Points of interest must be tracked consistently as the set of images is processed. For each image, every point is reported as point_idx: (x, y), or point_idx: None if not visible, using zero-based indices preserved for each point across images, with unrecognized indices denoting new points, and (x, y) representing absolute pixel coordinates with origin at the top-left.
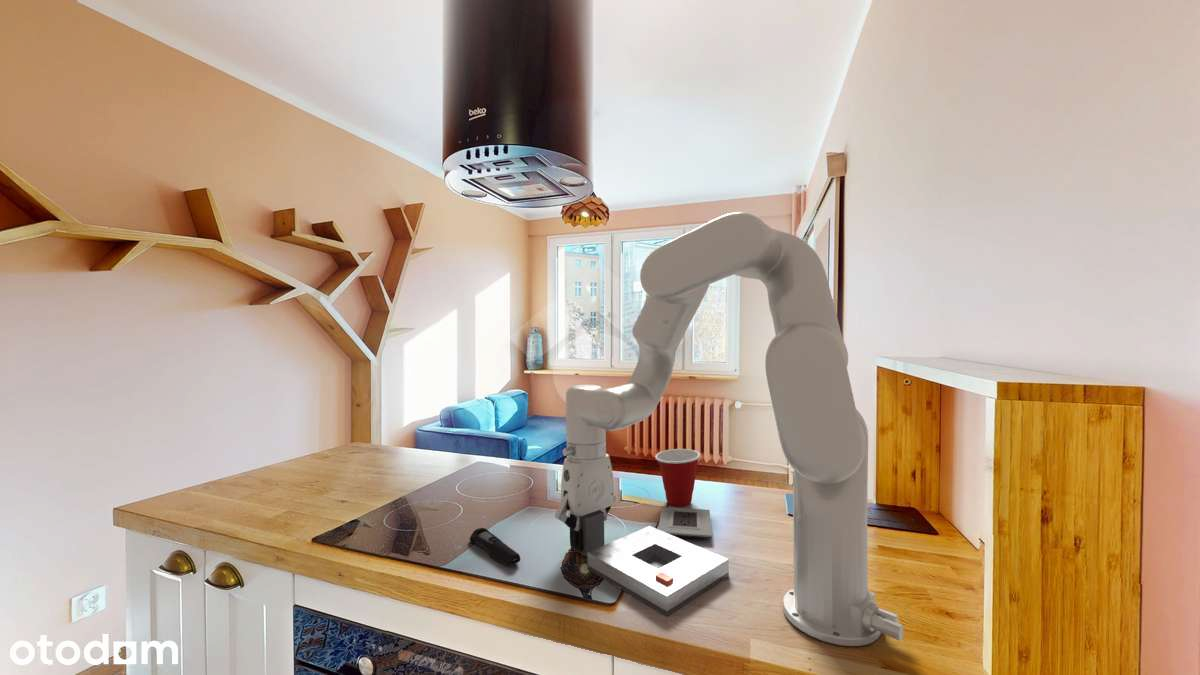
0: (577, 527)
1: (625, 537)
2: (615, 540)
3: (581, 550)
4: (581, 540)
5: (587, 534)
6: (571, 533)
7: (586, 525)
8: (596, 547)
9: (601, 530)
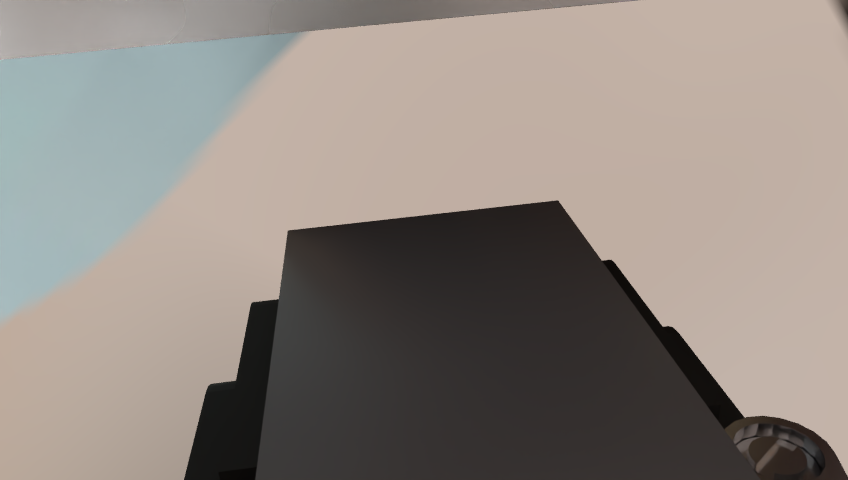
0: (791, 461)
1: (47, 15)
2: (270, 31)
3: (606, 260)
4: (649, 322)
5: (613, 332)
6: None
7: (698, 423)
8: (414, 238)
9: (328, 354)
